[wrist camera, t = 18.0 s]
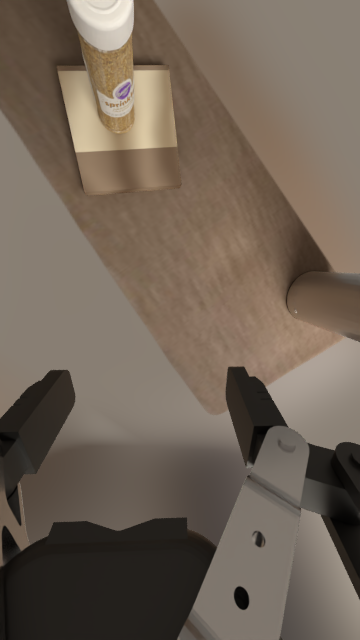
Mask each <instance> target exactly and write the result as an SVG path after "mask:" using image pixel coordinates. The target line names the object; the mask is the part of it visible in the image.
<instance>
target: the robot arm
mask: <svg viewBox="0 0 360 640" xmlns="http://www.w3.org/2000/svg"><path fill="white" fill-rule="evenodd" d="M287 306H288V310H289V312H290V313H291V315H292V316H293V317H294V318H296V319H298V320H301V321H303V322H306V323H309V324H312V325H314V326H317V327H319V328H322V329H325V330H328V331H330V332H333V333H336V334H339V335H341V336H344V337H347V338H350V339H352V340H355V341H358V342H360V274H356V273H337V272H320V271H311V272H307V273H304V274H302V275H301V276H299V277H298V278H297V279H296V280H295V281H294V282H293V284H292V285H291V287H290V289H289V292H288V295H287ZM226 402H227V406H228V409H229V412H230V416H231V419H232V422H233V426H234V429H235V432H236V436H237V439H238V442H239V446H240V449H241V452H242V456H243V459H244V462H245V465H246V468H253V469H252V471H251V473H250V475H249V476H247V478H246V480H245V482H244V484H243V487H242V489H241V491H240V494H239V496H238V499H237V501H236V504H235V506H234V509H233V511H232V513H231V516H230V518H229V520H228V523H227V525H226V528H225V530H224V533H223V535H222V537H221V540H220V542H219V545H218V547H216V546H215V545H214V544H213V543H212V542H211V541H210V540H208V539H207V538H205V537H204V536H203V535H201V534H199V533H197V532H195V531H192V530H189V529H187V518H164V519H163V518H161V519H152V520H150V521H147V522H144V523H141V524H138V525H136V526H133V527H130V528H127V529H124V530H121V531H115V530H112V529H109V528H106V527H103V526H100V525H97V524H93V523H90V522H87V521H81V522H54V523H53V525H52V528H51V531H50V533H49V535H48V536H47V537H45V538H43V539H40V540H38V541H36V542H35V543H33V544H31V545H30V544H29V541H28V537H27V533H26V527H25V519H24V511H23V503H22V493H21V487H20V483H19V481H20V479H21V478H22V476H23V475H24V474H36V473H37V471H38V469H39V468H40V466H41V464H42V462H43V460H44V459H45V457H46V455H47V453H48V451H49V449H50V448H51V446H52V444H53V442H54V440H55V439H56V437H57V435H58V433H59V431H60V430H61V428H62V426H63V424H64V422H65V421H66V419H67V417H68V415H69V413H70V412H71V410H72V408H73V406H74V403H75V392H74V388H73V384H72V380H71V376H70V373H69V371H68V370H51V371H49V372H48V373H47V375H46V376H45V377H44V378H43V379H42V380H41V381H38V382H36V383H35V384H33V385H32V386H30V387H29V388H28V389H27V390H26V391H25V392H24V393H23V394H22V395H21V396H20V399H18V400H17V401H16V402H15V403H14V404H13V406H11V407H10V409H9V410H8V411H7V412H6V413H5V414H4V415H3V416H2V417H1V419H0V640H283V639H282V638H281V636H280V633H281V627H282V621H283V615H284V609H285V603H286V597H287V591H288V585H289V580H290V574H291V568H292V562H293V557H294V551H295V545H296V539H297V533H298V527H299V522H300V515H301V508H303V509H306V510H309V511H312V512H315V513H318V514H321V517H322V519H323V521H324V523H325V525H326V527H327V530H328V532H329V534H330V536H331V538H332V540H333V542H334V545H335V547H336V549H337V551H338V554H339V555H340V558H341V560H342V562H343V564H344V567H345V569H346V571H347V573H348V575H349V577H350V580H351V582H352V584H353V586H354V588H355V590H356V593H357V595H358V597H359V599H360V445H358V444H355V443H351V442H343V443H340V444H338V445H337V447H336V449H335V450H331V449H327V448H323V447H319V446H315V445H312V444H309V443H307V442H306V440H305V439H304V438H303V437H302V436H301V435H300V434H299V433H298V432H296V431H295V430H293V429H291V428H289V427H288V426H287V424H286V423H285V420H284V419H283V417H282V415H281V413H280V412H279V410H278V408H277V406H276V405H275V403H274V401H273V400H272V398H271V396H270V394H269V393H268V391H267V389H266V387H265V385H264V384H263V383H262V382H261V381H260V380H259V379H258V378H256V377H249V375H248V373H247V371H246V369H245V367H228V372H227V382H226Z"/></svg>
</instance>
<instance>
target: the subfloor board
mask: <svg viewBox="0 0 360 640" xmlns="http://www.w3.org/2000/svg"><path fill="white" fill-rule="evenodd" d="M57 70H58V75H59V79H60V84H61V88H62V93H63V98H64V102H65V107H66V111H67V116H68V120H69V125H70V129H71V134H72V138H73V143H74V147H75V152H76V156H77V161H78V165H79V170H80V175H81V179H82V184H83V188H84V193H85V194H86V195H87V196H92V195H104V194H116V193H128V192H140V191H151V190H163V189H175V188H180V186H181V177H180V167H179V158H178V149H177V139H176V130H175V121H174V111H173V102H172V93H171V84H170V74H169V65H133V71H134V109H135V121H134V124H133V126H132V128H131V129H130V131H128V132H126V133H122V134H116V133H113V132H111V131H109V130H107V129H106V128H105V127H104V126H103V124H102V122H101V121H100V118H99V116H98V111H97V104H96V101H95V99H94V96H93V92H92V89H91V85H90V82H89V78H88V74H87V70H86V67H85V66H57Z"/></svg>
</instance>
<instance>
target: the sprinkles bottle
mask: <svg viewBox="0 0 360 640" xmlns="http://www.w3.org/2000/svg"><path fill="white" fill-rule="evenodd" d="M67 4H68V8H69V11H70V15H71V18H72V20H73V23H74V25H75V27H76V29H77V32H78V36H79V39H80V44H81V49H82V55H83V59H84V63H85V67H86V70H87V74H88V78H89V82H90V85H91V89H92V92H93V96H94V99H95V101H96V104H97V111H98V116H99V118H100V121H101V122H102V124H103V126H104V127H105V128H106V129H107V130H109V131H111V132H113V133H116V134H122V133H126V132H128V131H130V129H131V128H132V126H133V124H134V121H135V109H134V71H133V51H132V29H133V24H134V3H133V0H67Z"/></svg>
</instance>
